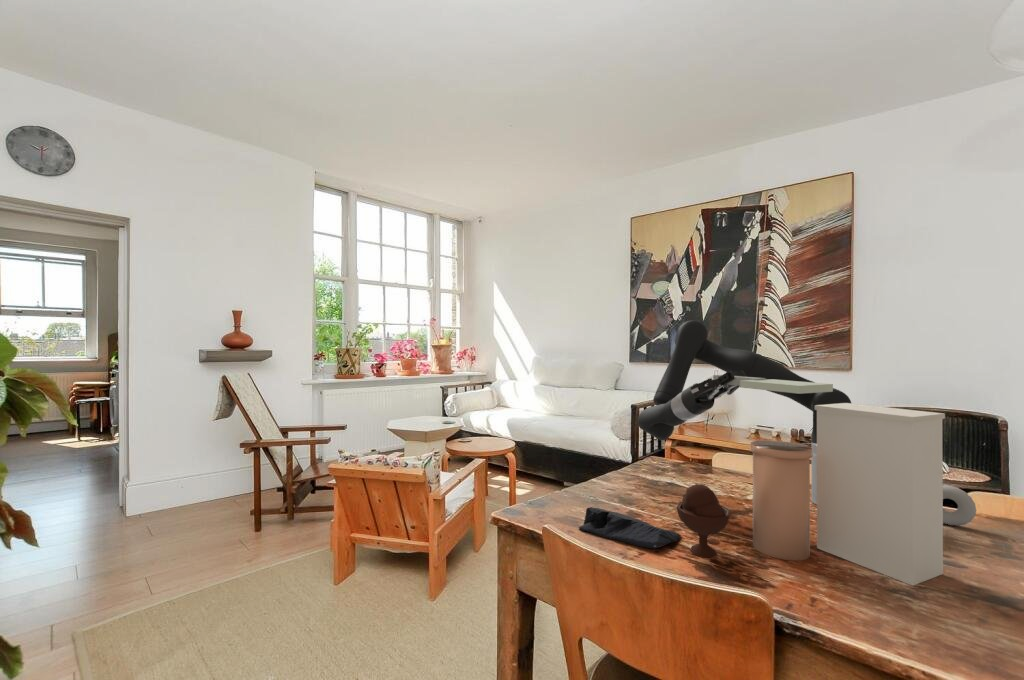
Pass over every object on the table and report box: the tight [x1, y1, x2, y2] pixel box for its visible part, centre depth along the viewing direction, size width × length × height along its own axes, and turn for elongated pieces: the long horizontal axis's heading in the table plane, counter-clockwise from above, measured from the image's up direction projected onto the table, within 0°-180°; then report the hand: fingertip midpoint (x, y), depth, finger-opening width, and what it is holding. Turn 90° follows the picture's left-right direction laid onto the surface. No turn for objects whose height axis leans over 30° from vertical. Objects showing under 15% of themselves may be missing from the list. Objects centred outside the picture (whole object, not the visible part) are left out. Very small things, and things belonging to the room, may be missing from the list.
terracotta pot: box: [749, 439, 812, 561], centre depth 105 cm, size 12×12×23 cm
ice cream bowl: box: [676, 483, 731, 559], centre depth 103 cm, size 11×11×15 cm
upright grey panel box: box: [815, 402, 946, 586], centre depth 100 cm, size 12×19×32 cm, turn 25°
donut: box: [943, 484, 977, 527], centre depth 120 cm, size 10×4×10 cm, turn 40°
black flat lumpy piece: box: [578, 506, 682, 550], centre depth 114 cm, size 15×22×5 cm
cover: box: [712, 374, 834, 394], centre depth 109 cm, size 11×25×2 cm, turn 25°
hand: (738, 374), depth 115 cm, fingers closed on cover, 3 cm apart
